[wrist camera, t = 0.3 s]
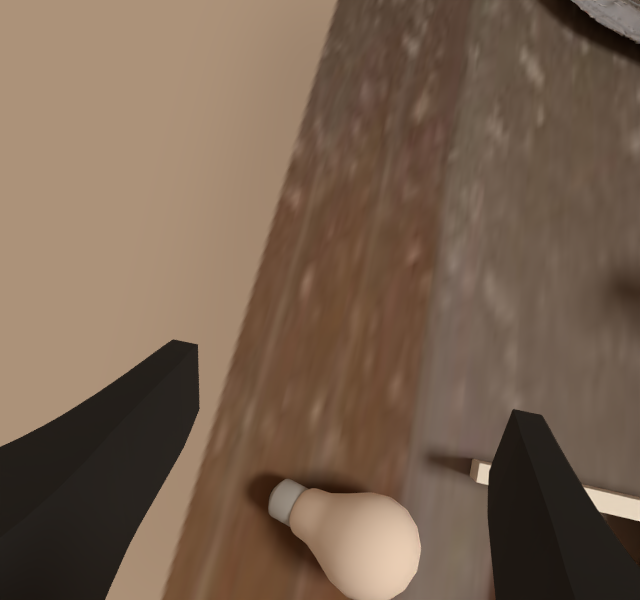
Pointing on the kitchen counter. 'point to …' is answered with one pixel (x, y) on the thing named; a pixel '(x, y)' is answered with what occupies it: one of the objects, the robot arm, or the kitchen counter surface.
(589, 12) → the food plate
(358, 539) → the light bulb
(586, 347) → the kitchen counter surface
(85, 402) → the robot arm
